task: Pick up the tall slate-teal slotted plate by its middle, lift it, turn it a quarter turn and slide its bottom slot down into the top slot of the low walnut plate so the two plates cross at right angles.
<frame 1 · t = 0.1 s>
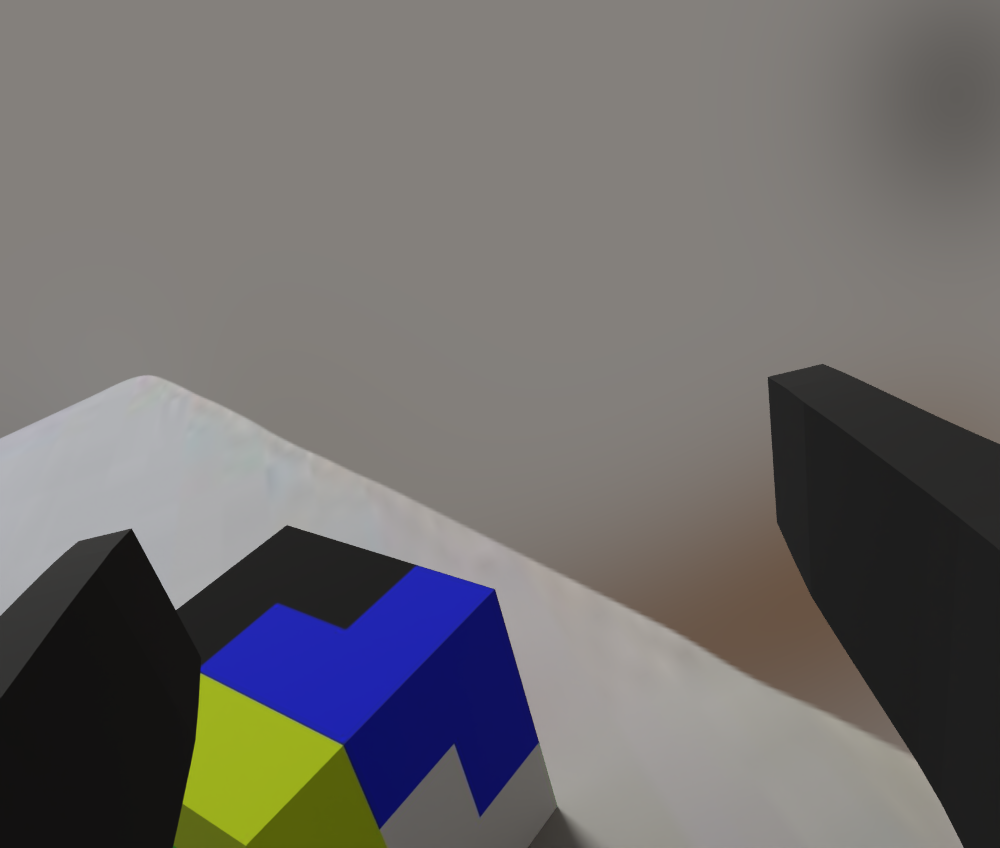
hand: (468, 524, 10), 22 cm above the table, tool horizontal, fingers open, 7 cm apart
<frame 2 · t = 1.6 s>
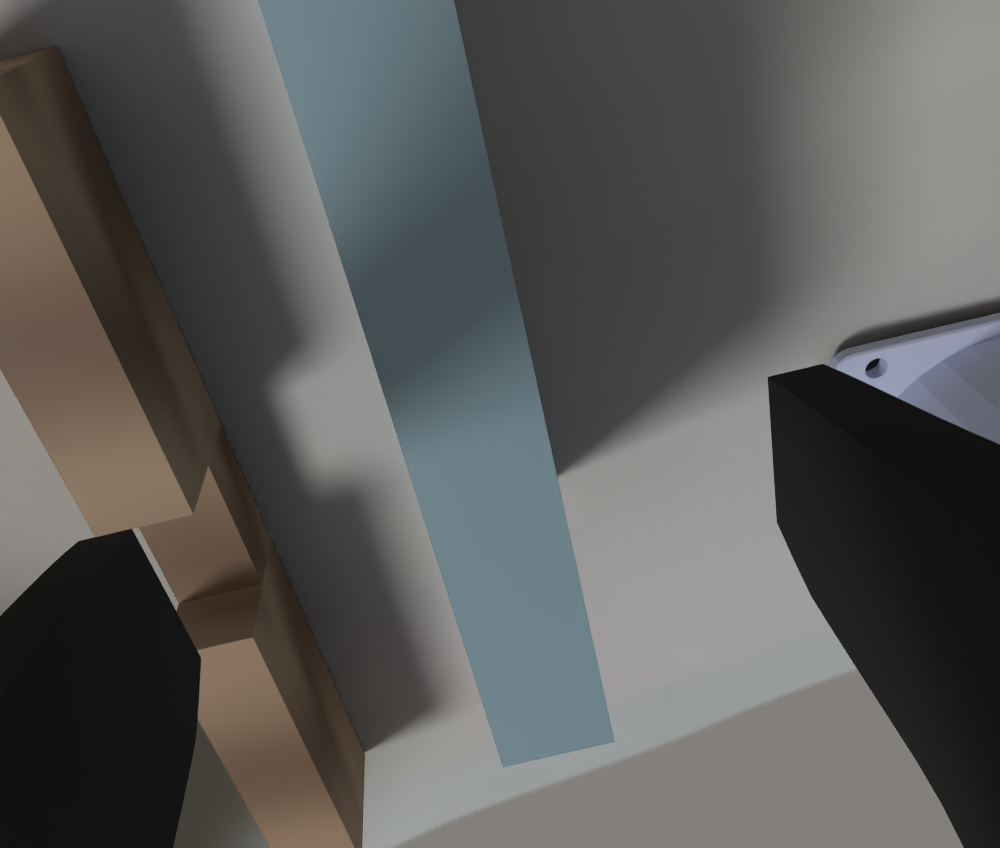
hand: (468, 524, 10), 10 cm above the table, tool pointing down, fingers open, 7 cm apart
walnut slotted plate: (206, 492, 22), on the table
teal slotted plate: (441, 227, 19), on the table
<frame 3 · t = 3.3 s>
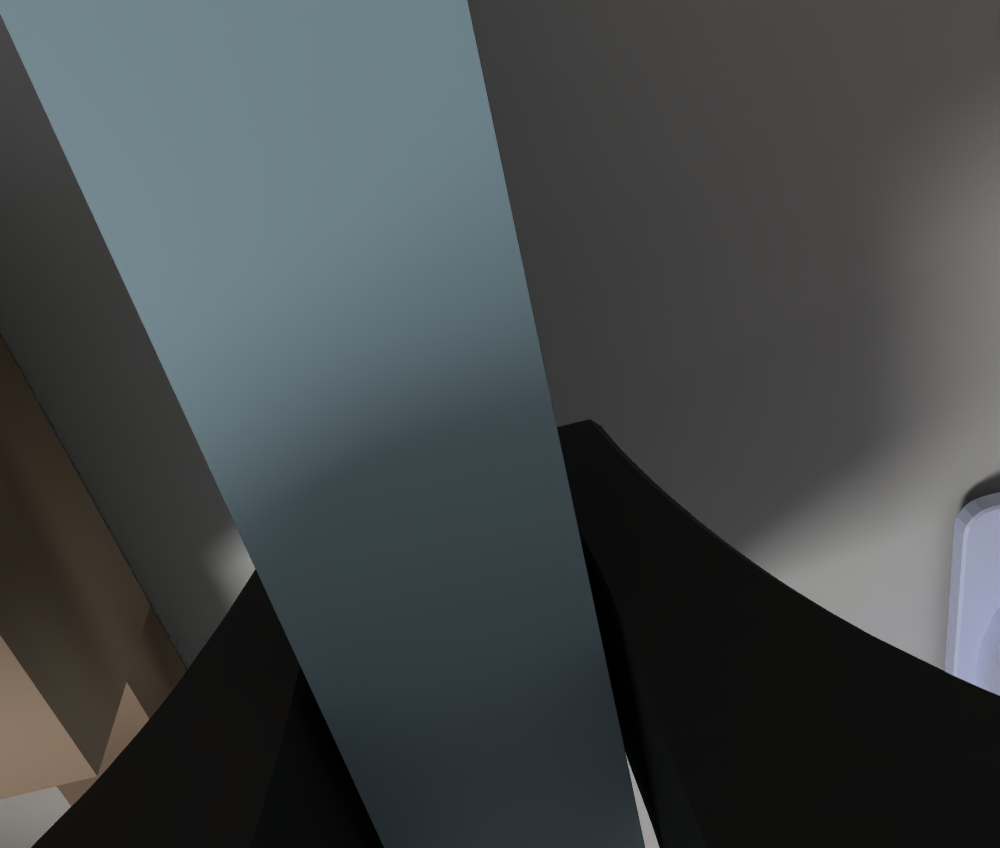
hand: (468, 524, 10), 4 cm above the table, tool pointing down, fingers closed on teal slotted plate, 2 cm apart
walnut slotted plate: (134, 686, 17), on the table
teal slotted plate: (446, 355, 14), on the table, touching gripper
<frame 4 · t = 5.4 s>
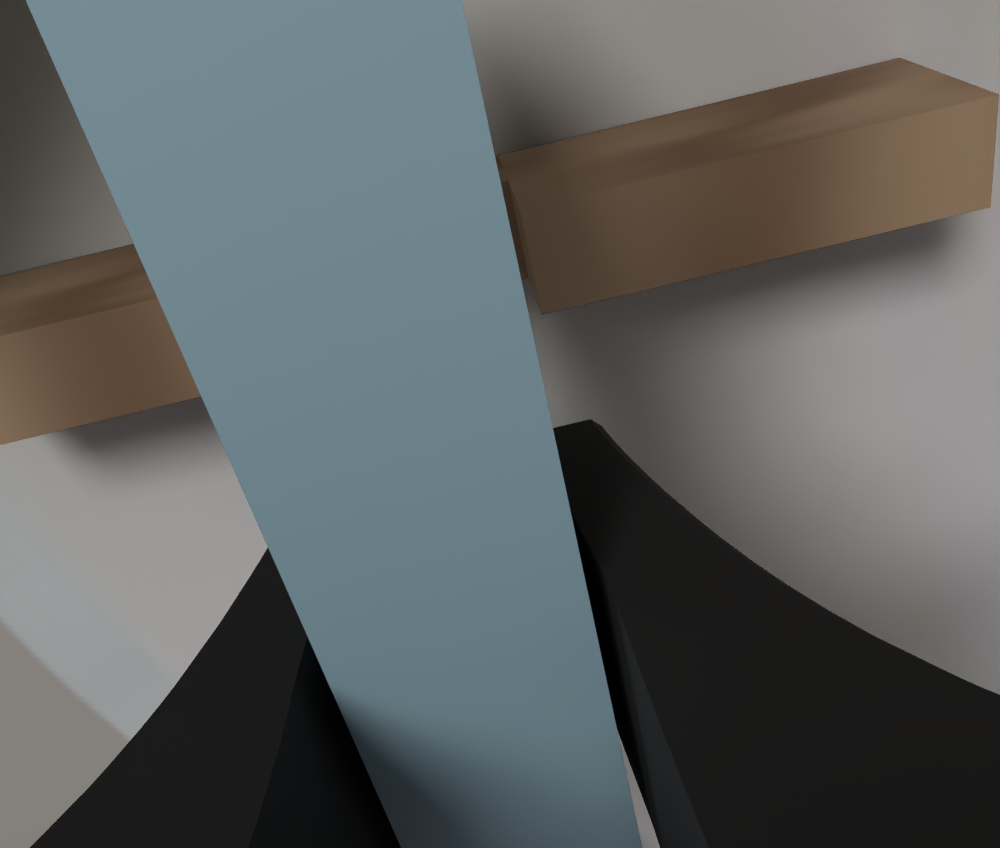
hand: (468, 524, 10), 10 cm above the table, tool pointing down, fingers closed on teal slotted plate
walnut slotted plate: (428, 221, 19), on the table
teal slotted plate: (439, 325, 14), point 6 cm above the table, touching gripper
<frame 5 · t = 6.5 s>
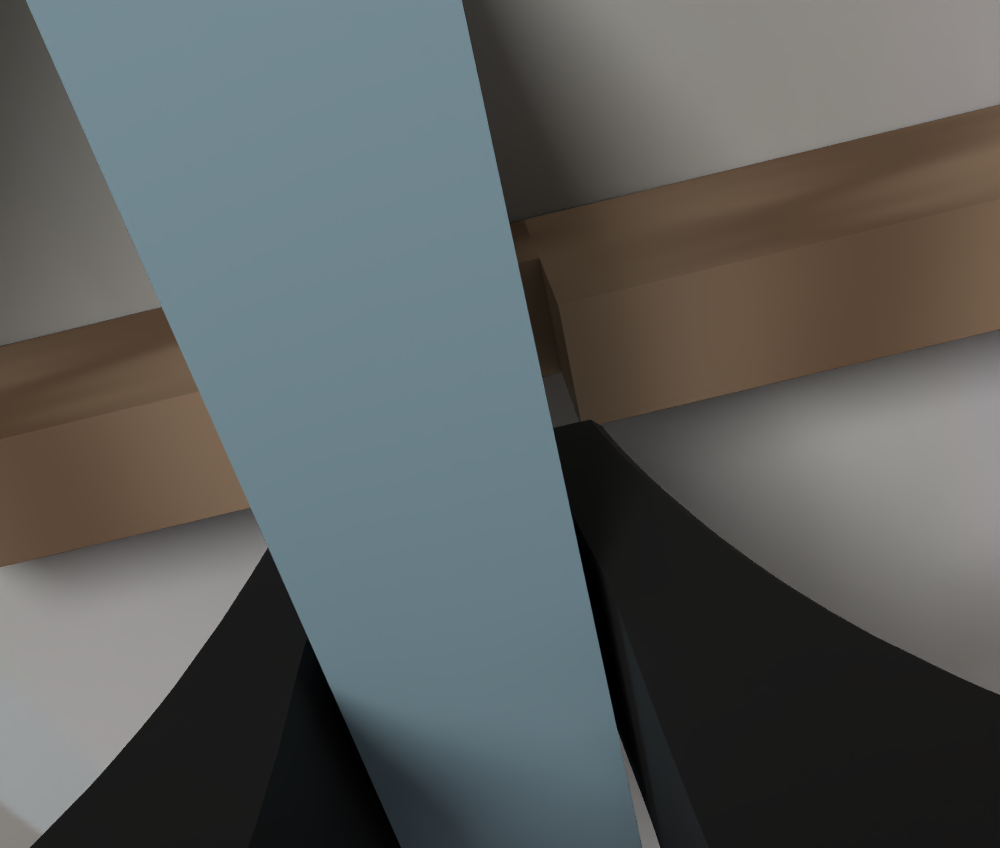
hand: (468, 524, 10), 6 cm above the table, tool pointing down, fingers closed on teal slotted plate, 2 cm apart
walnut slotted plate: (438, 298, 16), on the table
teal slotted plate: (438, 325, 14), point 2 cm above the table, touching gripper
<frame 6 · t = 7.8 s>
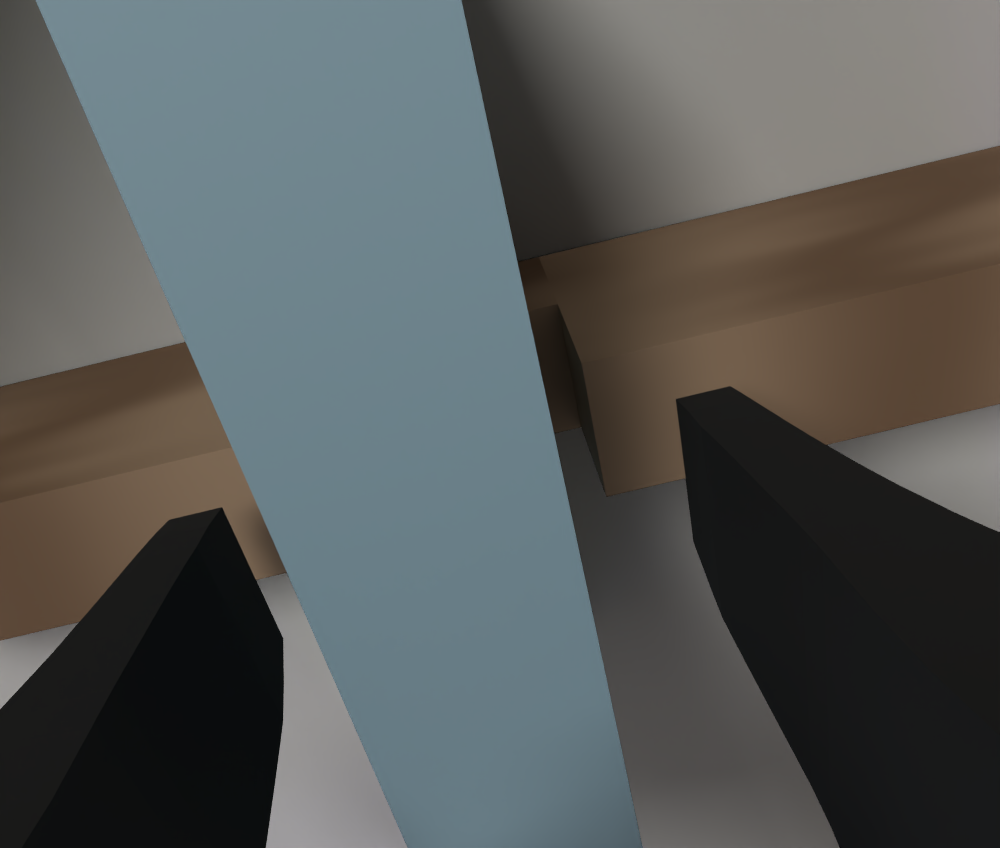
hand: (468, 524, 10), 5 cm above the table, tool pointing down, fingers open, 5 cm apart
walnut slotted plate: (444, 341, 14), on the table
teal slotted plate: (439, 321, 14), on the table, touching walnut slotted plate
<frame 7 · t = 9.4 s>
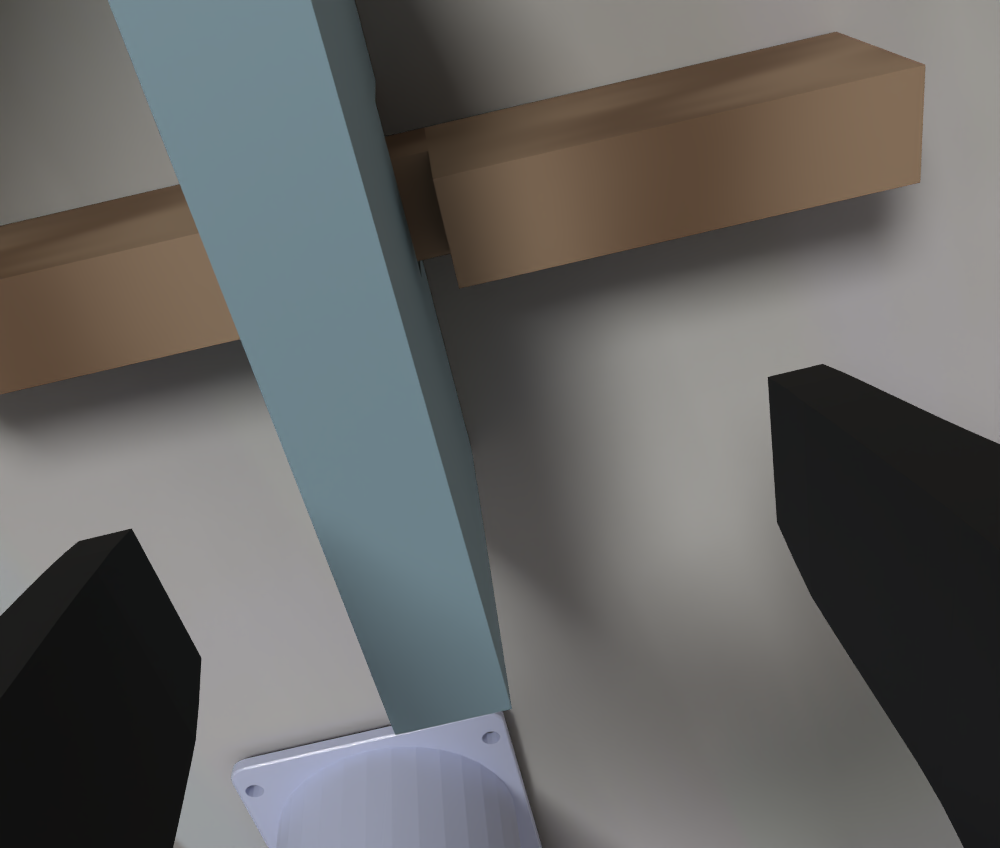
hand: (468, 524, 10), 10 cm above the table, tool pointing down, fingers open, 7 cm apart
walnut slotted plate: (354, 195, 19), on the table
teal slotted plate: (349, 179, 19), on the table, touching walnut slotted plate
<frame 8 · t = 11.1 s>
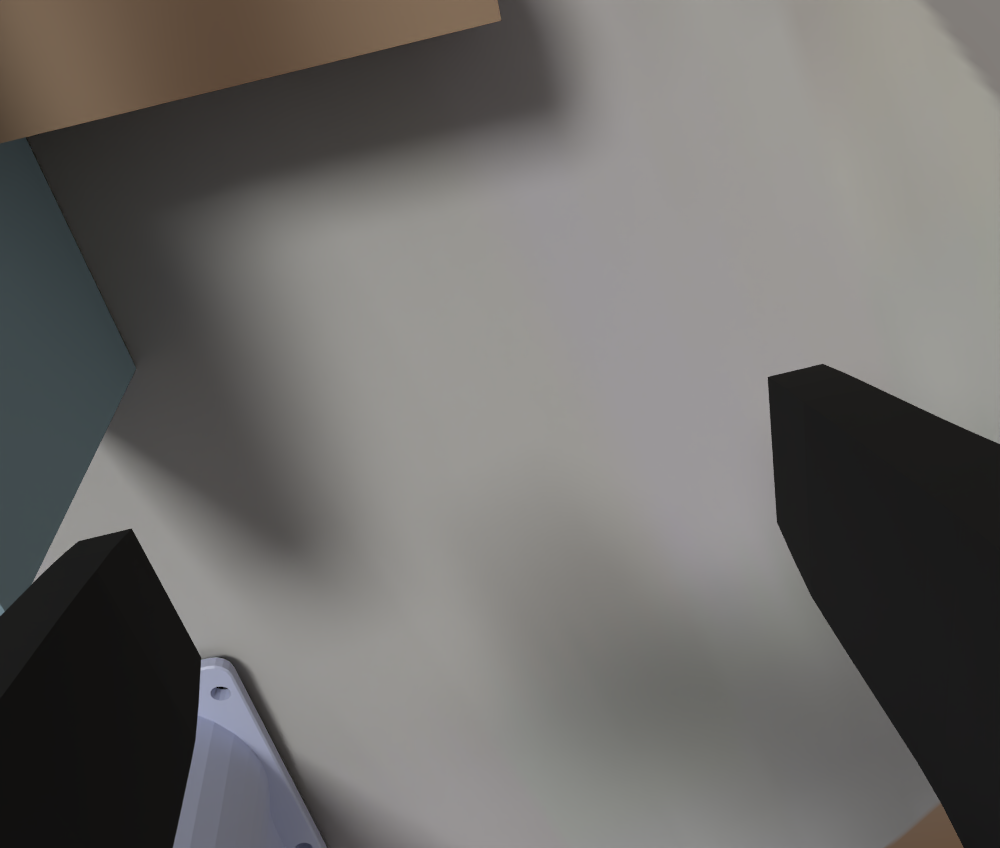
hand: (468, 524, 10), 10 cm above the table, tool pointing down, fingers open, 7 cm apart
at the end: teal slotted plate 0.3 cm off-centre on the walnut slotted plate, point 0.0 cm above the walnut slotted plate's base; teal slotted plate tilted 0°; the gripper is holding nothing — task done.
